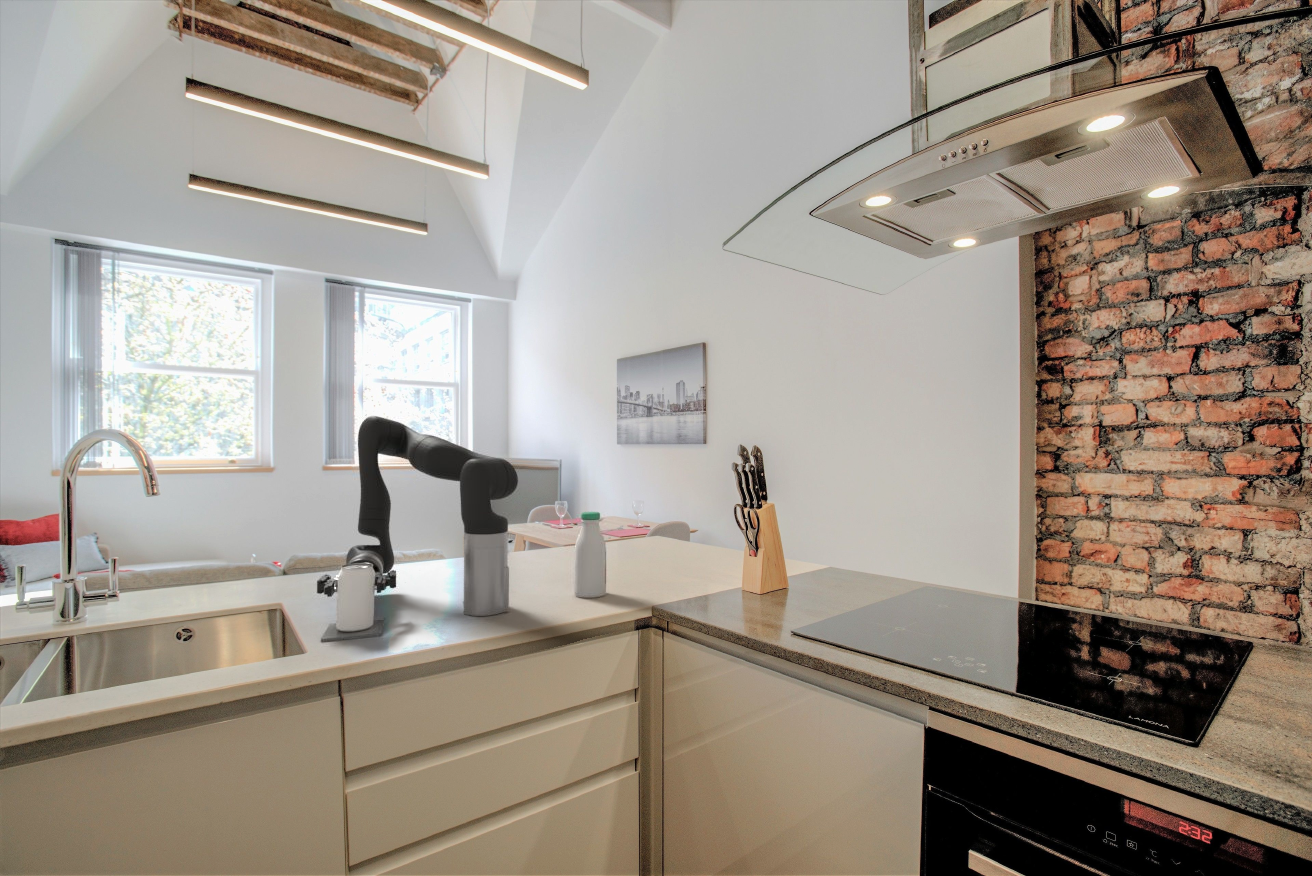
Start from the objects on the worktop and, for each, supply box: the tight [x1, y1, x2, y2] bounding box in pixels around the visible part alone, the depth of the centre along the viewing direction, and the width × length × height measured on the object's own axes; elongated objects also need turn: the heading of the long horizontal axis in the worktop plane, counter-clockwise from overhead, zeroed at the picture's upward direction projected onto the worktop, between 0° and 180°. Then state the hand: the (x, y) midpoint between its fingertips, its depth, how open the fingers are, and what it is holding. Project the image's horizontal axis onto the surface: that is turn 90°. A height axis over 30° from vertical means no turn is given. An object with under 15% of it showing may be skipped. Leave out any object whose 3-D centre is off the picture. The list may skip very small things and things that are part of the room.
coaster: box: [320, 618, 386, 643], centre depth 115 cm, size 10×10×1 cm
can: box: [335, 563, 376, 632], centre depth 115 cm, size 6×6×12 cm
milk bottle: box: [573, 511, 607, 599], centre depth 144 cm, size 8×8×20 cm
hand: (354, 589), depth 114 cm, fingers open, 8 cm apart
